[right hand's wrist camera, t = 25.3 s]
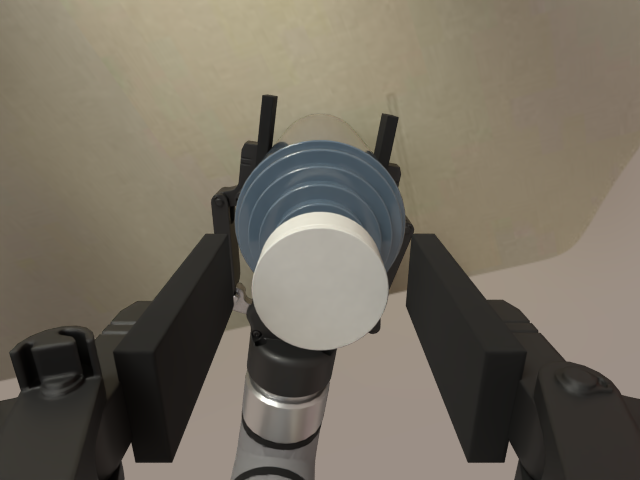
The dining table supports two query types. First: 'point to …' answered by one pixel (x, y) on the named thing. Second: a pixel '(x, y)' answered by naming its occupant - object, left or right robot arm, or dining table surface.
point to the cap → (320, 282)
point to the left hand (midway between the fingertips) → (330, 106)
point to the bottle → (320, 187)
